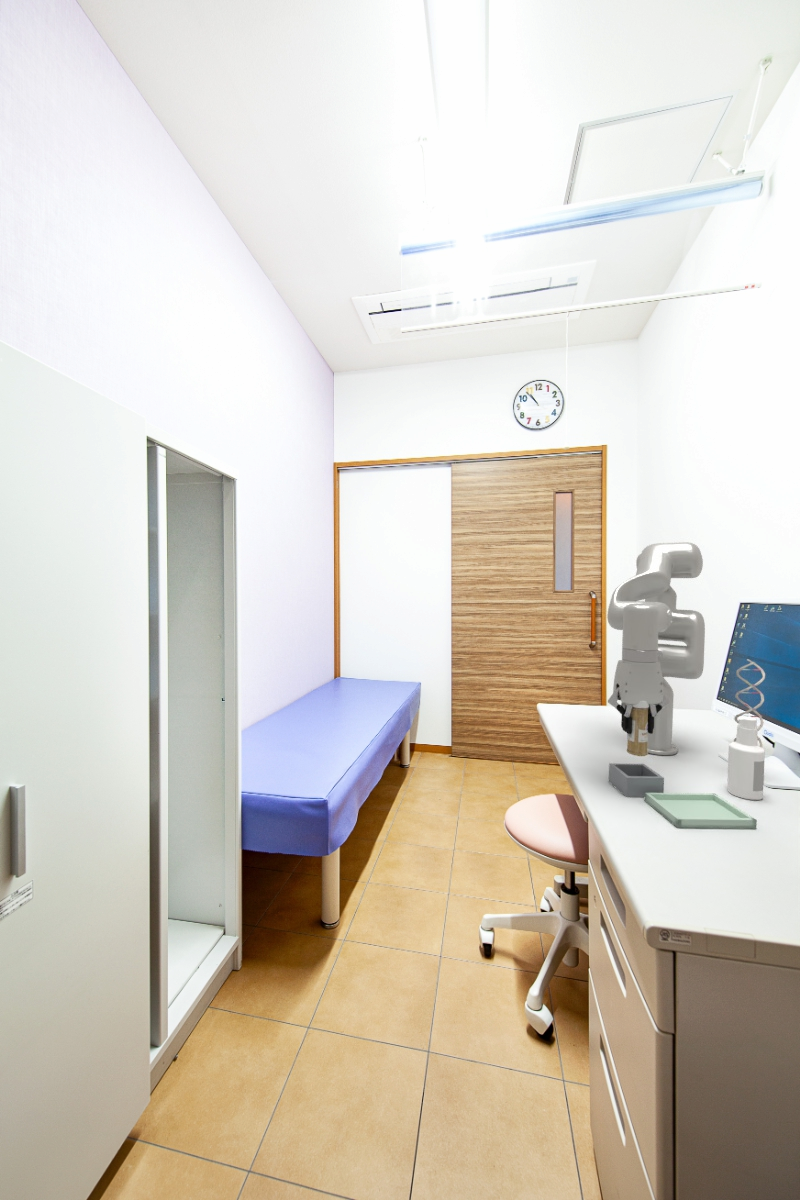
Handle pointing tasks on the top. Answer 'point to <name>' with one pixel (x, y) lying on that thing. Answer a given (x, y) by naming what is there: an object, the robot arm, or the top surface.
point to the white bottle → (746, 762)
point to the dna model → (752, 693)
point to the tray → (699, 811)
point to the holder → (635, 779)
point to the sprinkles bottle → (638, 730)
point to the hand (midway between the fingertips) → (637, 731)
